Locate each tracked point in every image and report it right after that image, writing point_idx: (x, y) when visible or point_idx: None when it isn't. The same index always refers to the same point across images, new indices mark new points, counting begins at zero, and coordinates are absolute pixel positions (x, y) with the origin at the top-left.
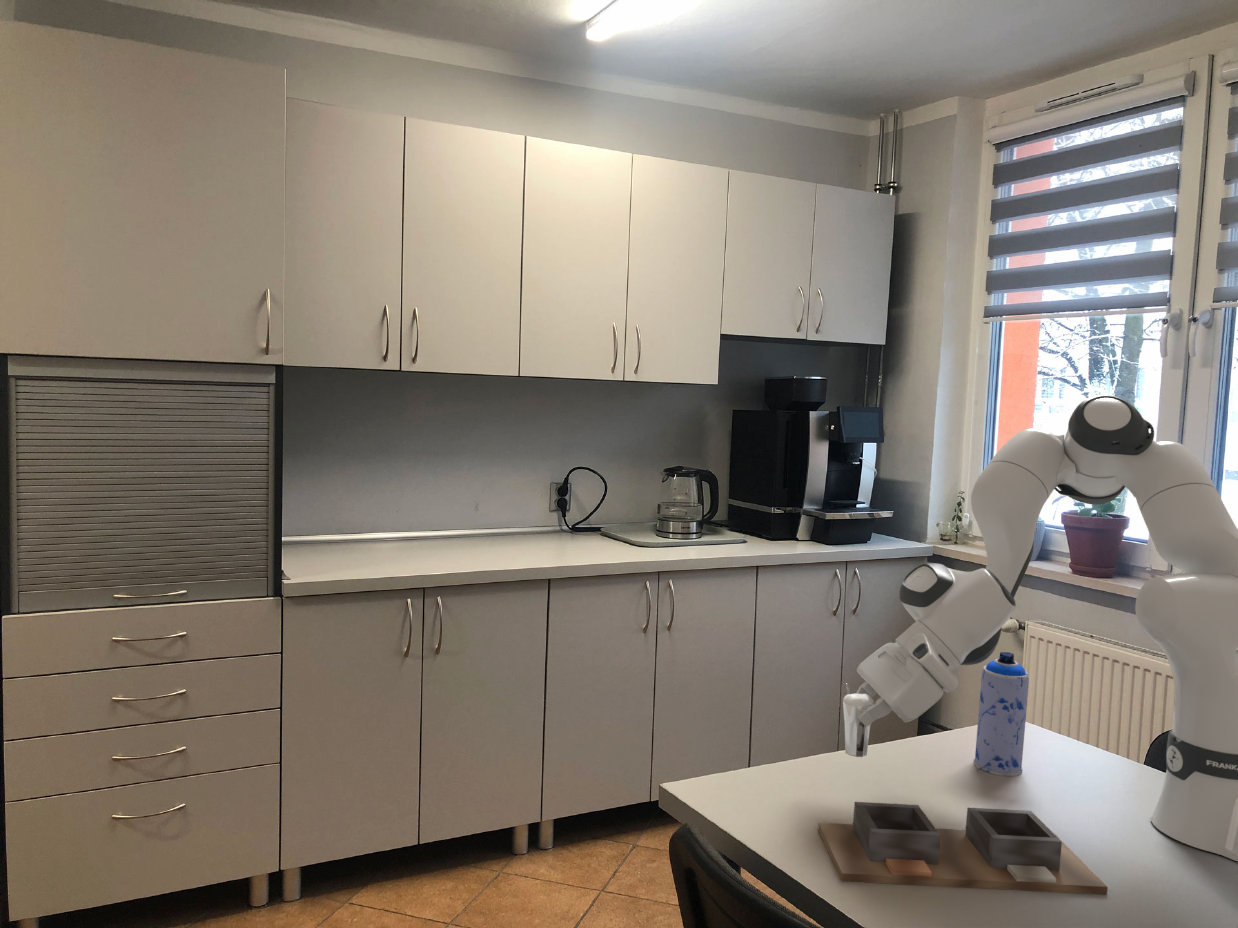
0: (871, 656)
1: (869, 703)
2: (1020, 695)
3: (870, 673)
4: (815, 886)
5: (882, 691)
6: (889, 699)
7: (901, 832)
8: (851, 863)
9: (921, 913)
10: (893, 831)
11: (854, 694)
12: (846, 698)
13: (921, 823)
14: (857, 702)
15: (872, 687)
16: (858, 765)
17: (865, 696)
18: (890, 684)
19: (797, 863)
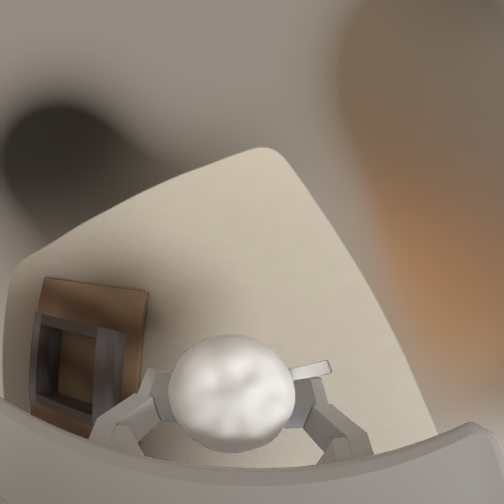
0: (496, 480)
1: (177, 421)
2: None
3: (367, 487)
4: (47, 250)
5: (87, 453)
6: (9, 413)
7: (32, 351)
8: (56, 295)
9: (7, 332)
10: (34, 341)
11: (241, 382)
12: (222, 341)
13: (64, 403)
14: (174, 372)
15: (230, 467)
16: (382, 415)
17: (214, 422)
18: (75, 494)
19: (81, 244)
